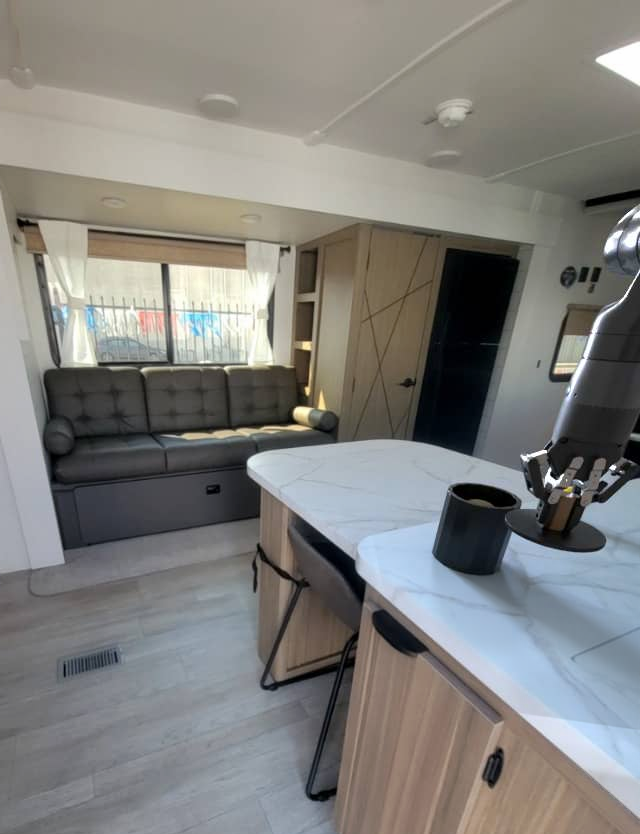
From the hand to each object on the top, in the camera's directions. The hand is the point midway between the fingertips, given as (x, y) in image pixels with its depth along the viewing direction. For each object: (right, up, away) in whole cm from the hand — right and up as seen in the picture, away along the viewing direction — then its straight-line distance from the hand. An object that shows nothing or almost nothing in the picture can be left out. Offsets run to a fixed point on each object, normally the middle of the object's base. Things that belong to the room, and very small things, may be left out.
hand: (553, 526), depth 56 cm
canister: (-4, -7, +17) cm, 19 cm away
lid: (0, -1, 0) cm, 1 cm away
